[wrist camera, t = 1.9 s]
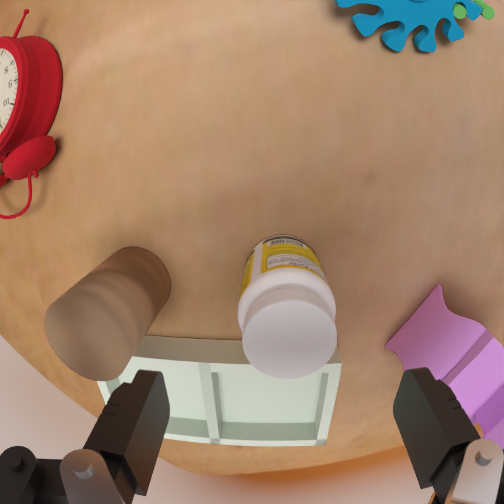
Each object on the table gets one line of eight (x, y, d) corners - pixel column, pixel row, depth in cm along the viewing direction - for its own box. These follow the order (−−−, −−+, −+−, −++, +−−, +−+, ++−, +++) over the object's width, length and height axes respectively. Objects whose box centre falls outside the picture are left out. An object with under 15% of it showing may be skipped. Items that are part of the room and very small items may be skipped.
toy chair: (443, 268, 20) (579, 401, 6) (494, 321, 21) (591, 432, 7) (370, 352, 23) (434, 525, 8) (432, 389, 24) (494, 520, 10)
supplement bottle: (274, 314, 22) (275, 401, 14) (230, 262, 21) (207, 334, 13) (333, 274, 21) (366, 349, 13) (290, 218, 20) (305, 268, 12)
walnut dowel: (166, 246, 21) (114, 301, 13) (174, 313, 22) (136, 387, 15) (101, 246, 21) (34, 294, 13) (113, 309, 23) (60, 373, 15)
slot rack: (335, 339, 22) (342, 363, 20) (321, 421, 25) (325, 444, 22) (102, 330, 23) (86, 349, 21) (126, 409, 26) (116, 429, 23)
